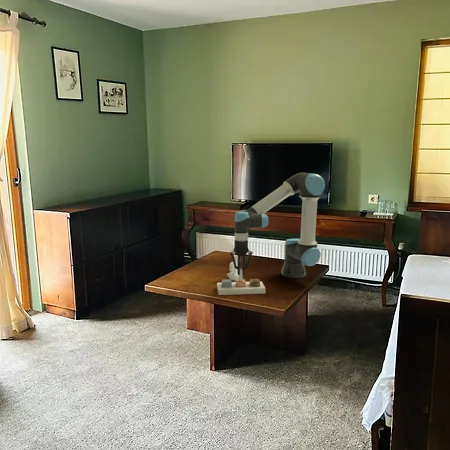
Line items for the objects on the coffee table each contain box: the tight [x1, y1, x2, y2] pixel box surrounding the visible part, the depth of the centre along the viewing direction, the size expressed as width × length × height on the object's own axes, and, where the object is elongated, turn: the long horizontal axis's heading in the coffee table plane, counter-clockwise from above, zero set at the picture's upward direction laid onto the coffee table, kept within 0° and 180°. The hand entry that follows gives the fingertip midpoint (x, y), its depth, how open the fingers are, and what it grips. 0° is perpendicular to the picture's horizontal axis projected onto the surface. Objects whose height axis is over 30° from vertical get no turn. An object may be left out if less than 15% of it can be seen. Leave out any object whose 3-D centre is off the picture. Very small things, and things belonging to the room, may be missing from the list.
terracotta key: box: [235, 278, 247, 287], centre depth 251 cm, size 5×5×4 cm
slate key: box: [221, 278, 233, 288], centre depth 250 cm, size 5×5×4 cm
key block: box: [216, 280, 266, 296], centre depth 251 cm, size 26×12×3 cm, turn 95°
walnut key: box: [249, 278, 260, 287], centre depth 252 cm, size 5×5×4 cm
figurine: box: [226, 254, 239, 282], centre depth 270 cm, size 7×9×15 cm
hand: (240, 280), depth 250 cm, fingers closed
